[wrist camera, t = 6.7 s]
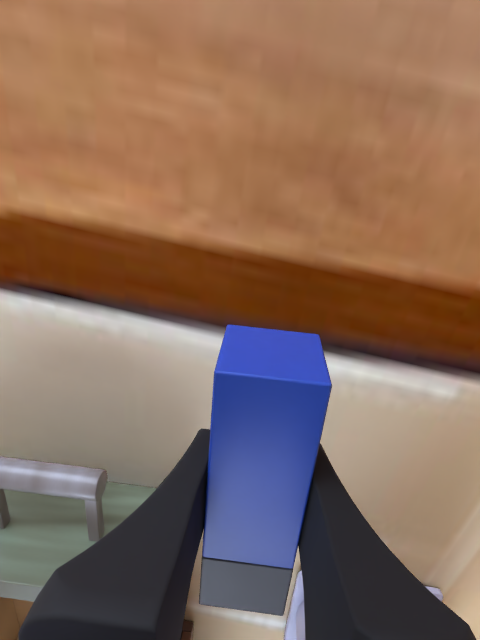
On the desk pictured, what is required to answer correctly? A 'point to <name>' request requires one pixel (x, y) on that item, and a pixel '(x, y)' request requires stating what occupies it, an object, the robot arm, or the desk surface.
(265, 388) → the eraser
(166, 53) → the desk surface
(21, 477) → the drawer
